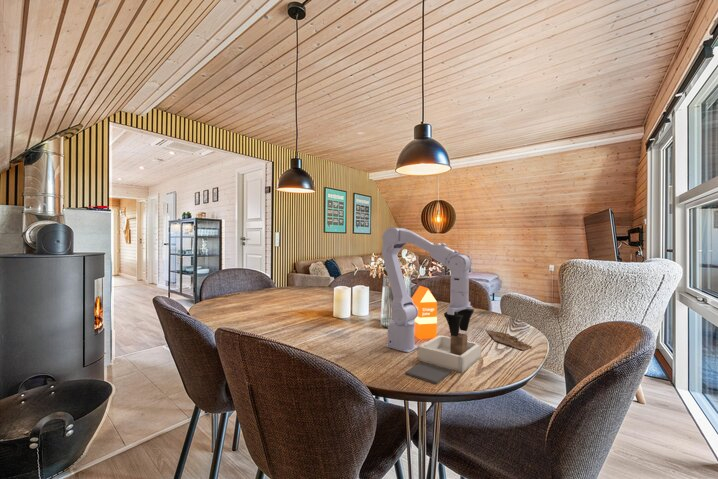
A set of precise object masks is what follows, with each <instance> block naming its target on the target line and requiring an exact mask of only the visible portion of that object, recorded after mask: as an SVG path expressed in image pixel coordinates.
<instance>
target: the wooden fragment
mask: <svg viewBox="0 0 718 479" xmlns="http://www.w3.org/2000/svg"><path fill="white" fill-rule="evenodd" d="M485 331H486V332H487V333H488V335H490V336H491V338H492V339H493V341H495V342H498V343H499V344H500V343H501V344H503V345H507V346H510V347H513V348H515V349H520V350H522V352H524V351H529V349H530V350H531V349H532V347H533V346H532V345H530V344H528V343H524V341H521V340H519V339H518V337H516V336H513V335H511V334H508V333H504V332H501V331H494V330H490V329H489V330H488V329H485Z"/></svg>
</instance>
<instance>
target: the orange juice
mask: <svg viewBox="0 0 718 479" xmlns="http://www.w3.org/2000/svg"><path fill="white" fill-rule="evenodd" d="M411 298H412V300H413V303H414V305H415V306H416V307H417V309H418V316H417V317H416V318H415V338H417V339H418V340H431V339H433V338H435V337H437V336H438V335H437V330H438V329H437V327H438V326H437V323H438V312H437V311H438V301H437V300H436V298H435V297H434V295H433V294H432V292H431V290H430V289H429V288H428V287H424V286H422V285H419V286H418V288H417V289H416V291H415V292H414V294H413V296H412V297H411Z"/></svg>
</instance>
